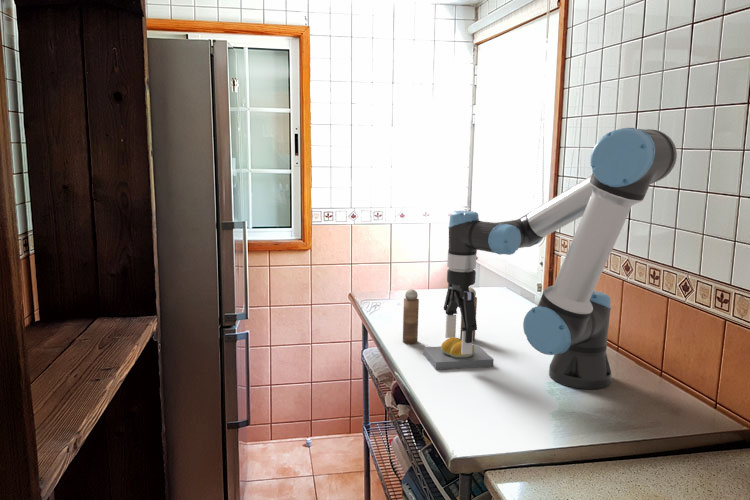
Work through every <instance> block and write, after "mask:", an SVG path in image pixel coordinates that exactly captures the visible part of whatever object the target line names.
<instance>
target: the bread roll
mask: <svg viewBox="0 0 750 500" xmlns="http://www.w3.org/2000/svg"><path fill="white" fill-rule="evenodd" d="M473 345H474V344H472V354H461V348H462V340H461V339H460V337H457V336H455V337H452V338H446V340H444V341H443V342H442V343H441V345H440V346H441V349H442V351H443V352H444V353H445V354H447V355H450V356H452V357H455V358H467V357H470V356H472V355H473V354H474V347H473Z"/></svg>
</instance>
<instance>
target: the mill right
mask: <svg viewBox="0 0 750 500" xmlns="http://www.w3.org/2000/svg"><path fill="white" fill-rule="evenodd" d="M469 292H474V306H475V315H476V316H477V303H478V298H477V295H476V293H477V292H476V290H475V289H474V288H473V287H469ZM460 317H461V318H460V334H459V339H461V340H462V330H461V329H462V328H464V327H463V322H462V316H461V315H460ZM475 339H476V330H473V342H474V341H475Z"/></svg>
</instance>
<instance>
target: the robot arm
mask: <svg viewBox="0 0 750 500" xmlns="http://www.w3.org/2000/svg"><path fill="white" fill-rule="evenodd" d="M677 151H678V150H677V147H676V145H675V142H674V141H673V140H672V139H671V137H670V136H668V135H667V134H666V133H664V132H662V131H660V130H657V129H644V128H643V129H642V128H635V127H623V128H619V129H614V130H612V131H610V132H607V133H606V134H604V135H603V136H602V137H601V138H599V140H598V141H596V143H595V145H594V147H593V148H592V150H591V155H590V166H591V170H592V174H591V175H590V176H588V177H586V178H584V179H583V180H581V181H579V182H578V183H576V184H574V185H572V186H571V187H570V188H568V189H567V190H565V191H562V192H561V193H559V194H558V195H556V196H554V197H553V198H551V199H550V200H548V201H546V202H545V203H543V204H541V205H539V206H538V207H536V208H534V209H533V210H531V211H529V212H528V213H527V214H525V215H522V216H521V217H520V218H518V219H513V220H507V221H500V222H499V221H498V222H492V221H482V220H480V218H479V213H478V212H476V211H473V210H455V211H452V212H451V213H450V215H449V222H448V223H449V224H448V252H447V260H446V261H447V263H446V265H447V268H448V269H447V271H446V272H447V273H446V281H447V283H448V284H447V285H448V286H447V291H446V296H445V299H444V300H445V301H444V305H443V311H445V317H446V318H445V338H446V339H449V338H452V337H456V331H457V330H456V329H457V328H456V327H457V315H458V311H457V310H458V309H459V311H460V317H461V316H462V322H463V327H464V328H462V329H461V328H460V331H461V330H462V348H461V354H472V345H474V344H473V342H474V341H473V330H475V331H477V330H478V327H477V326H478V325H477V314H476V315H475V306H474V292H469V288H470V287H471V286H474V285H475V283H476V273H477V272H476V270H475V269H476V268H477V267H476V266H477V260H479V258H478V257H479V256H477V253H478V252H477V251H482V252H488V253H492V254H497V255H499V256H500V255H507V256H508V255H510V256H511V255H514V254H515V253H516V252H517V251H518V250H519V249H522V248H530V247H533V246H535V245H538V244H540V243H541V242H542V240H543V239H544V238H546V237H547V236H548V235H550V234H552V233H555V232H556V231H557V230H560V229H561V228H563V227H565V226H567V225H569V224H571V223H573V222H575V221H576V220H578V219H580V218H581V219H580V221H579V223H578V226H577V229H576V231H575V233H574V236H573V238H572V241H571V243H570V245H569V247H568V249H567V253H566V254H565V257H564V260H563V262H562V264H561V266H560V269H559V271H558V273H557V276H556V279H555V281H554V283H553V285H550V286H547V287H545V288H544V289H543V292H542V294H541V297H540V300H539V302H538V304H537V306H534V307H532V308H530V310H529V311H528V312H527V313H526V314H525V316H524V318H523V323H522V327H523V333H524V335H525V337H526V340H527V341H528V343H529V344H530V346H531V347H532V348H534V349H535V350H536V351H537V352H539V353H541V354H544V355H548V356H553V357H552V360H551V361H550V364H549V369H548V376H549V378H550V379H552V380H553V381H555V382H557V383H559V384H561V385H564V386H568V387H570V388H575V389H576V388H577V389H583V390H596V389H597V390H599V389H603V388H607V387H609V386H610V385H611V384H612V369H611V367H610V362H609V358H608V354H607V347H608V346H607V345H608V336H609V325H610V316H611V310H612V307H611V297H610V295H609V294H607V293H605V292H601V291H598V290H595V289H596V287H597V284H598V282H599V280H600V279H601V276H602V273H603V272H604V271H603V270H604V269H605V267H606V265H607V262H608V260H609V258H610V256H611V253H612V251H613V249H614V246H615V245H616V242H617V240H618V239H619V236H620V234H621V231H622V230H623V226H624V225H625V222H626V221H627V218H628V216H629V214H630V211H631V209H632V207H633V206H634V205H635V204H639V203H641V202H643V201H644V199H645V197H646V194H647V193H648V190H649V188H650V185H653V184H655V183H657V182H659V181H661V180H663V179H664V178H666V177H667V176H668V175H669V174H671V172H672V171H673V169H674V168H675V165H676V162H677V157H678V156H677V155H678V153H677Z"/></svg>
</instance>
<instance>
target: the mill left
mask: <svg viewBox="0 0 750 500" xmlns="http://www.w3.org/2000/svg"><path fill="white" fill-rule="evenodd" d="M404 295H405V298H403V314H402V317H403V318H402V343H403V344H406V345H415V344H417V343H418V338H419V337H418V336H419V335H418V333H419V310H420V309H419V303H420V301H419V300H420V299H419V298H418V293H417V291H416V290H415V289H411V288H410V289H408V290H406V292H405V294H404Z"/></svg>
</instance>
